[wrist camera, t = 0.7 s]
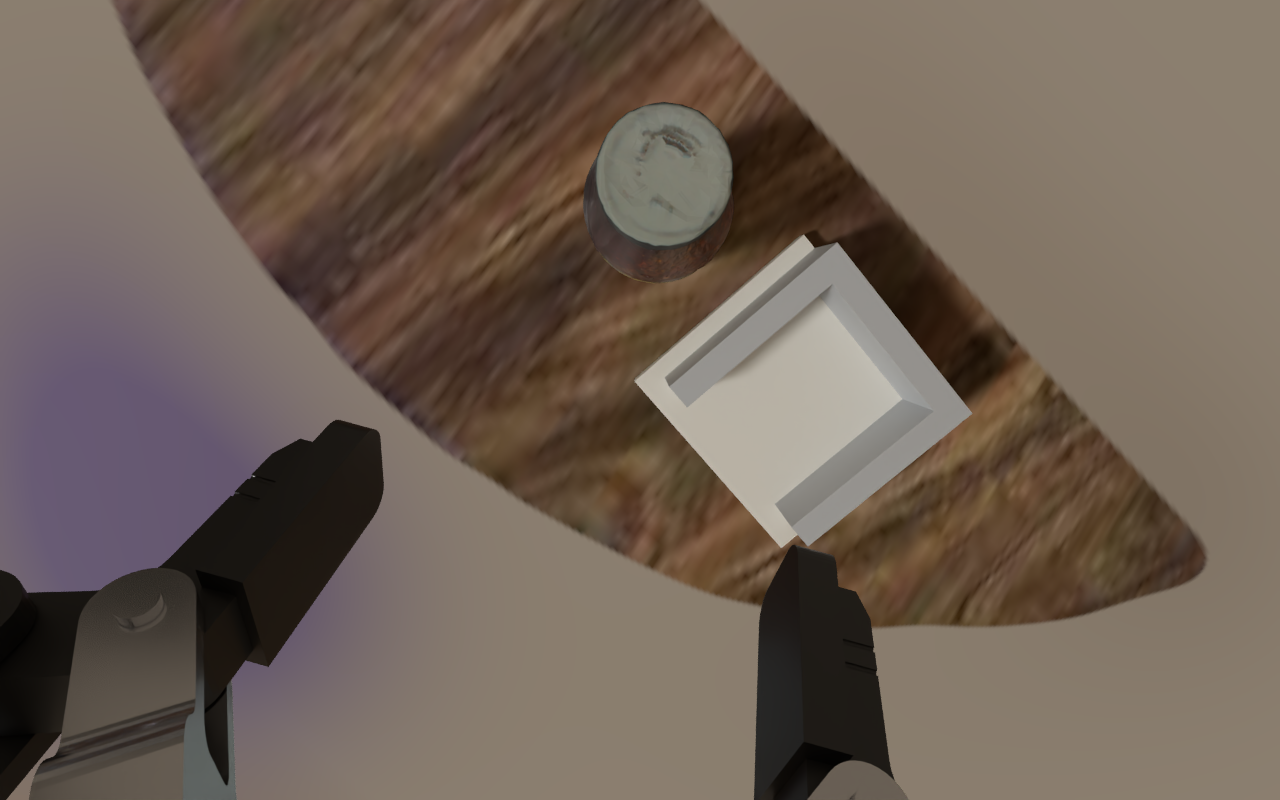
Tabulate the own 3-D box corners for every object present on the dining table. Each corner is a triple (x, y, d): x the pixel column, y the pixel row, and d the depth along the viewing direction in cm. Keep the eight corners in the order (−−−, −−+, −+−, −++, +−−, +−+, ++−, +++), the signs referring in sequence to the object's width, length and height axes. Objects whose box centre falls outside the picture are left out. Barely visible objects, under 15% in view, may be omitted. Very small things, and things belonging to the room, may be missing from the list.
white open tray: (634, 379, 39) (635, 391, 34) (799, 236, 38) (825, 227, 33) (777, 541, 41) (798, 575, 36) (938, 410, 40) (982, 426, 35)
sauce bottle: (667, 152, 37) (715, -10, 17) (725, 244, 38) (833, 190, 18) (574, 217, 37) (518, 132, 18) (634, 306, 38) (643, 319, 19)
